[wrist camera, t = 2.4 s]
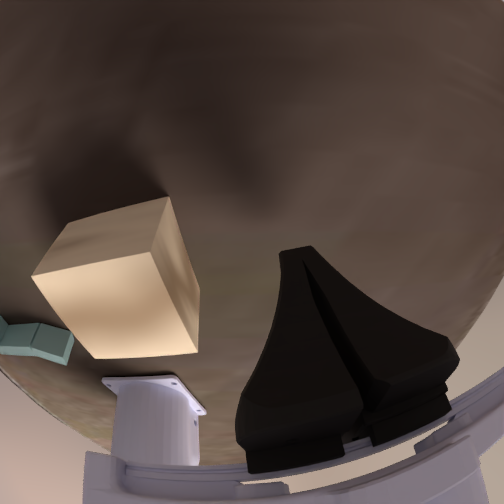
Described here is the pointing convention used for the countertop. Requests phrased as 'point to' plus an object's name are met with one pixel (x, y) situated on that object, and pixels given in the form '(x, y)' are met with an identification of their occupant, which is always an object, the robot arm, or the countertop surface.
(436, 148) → the countertop surface
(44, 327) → the dock
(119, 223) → the birch block
